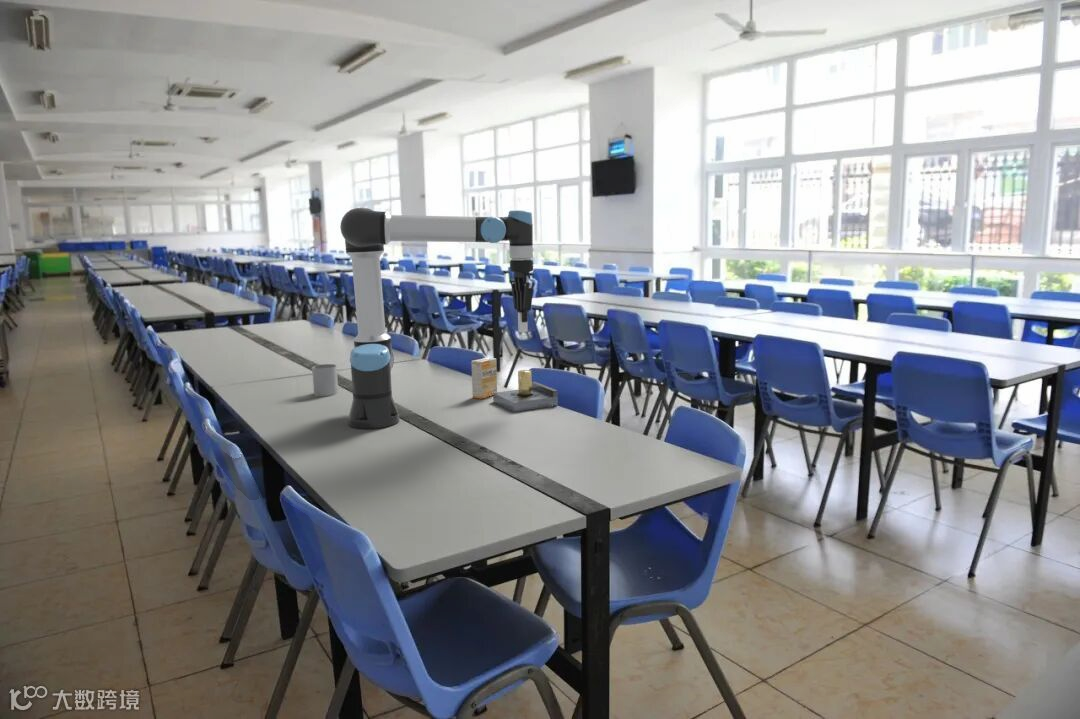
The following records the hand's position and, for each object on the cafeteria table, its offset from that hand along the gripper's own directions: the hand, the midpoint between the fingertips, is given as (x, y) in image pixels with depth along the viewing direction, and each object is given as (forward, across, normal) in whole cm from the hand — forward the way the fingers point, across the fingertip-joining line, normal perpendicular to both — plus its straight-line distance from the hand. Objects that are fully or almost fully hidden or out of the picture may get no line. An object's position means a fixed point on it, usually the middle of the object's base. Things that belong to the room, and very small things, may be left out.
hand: (523, 331), depth 245 cm
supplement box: (+25, +17, +7) cm, 31 cm away
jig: (+24, 0, 0) cm, 24 cm away
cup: (+25, +52, +54) cm, 79 cm away
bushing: (+24, 0, 0) cm, 24 cm away
